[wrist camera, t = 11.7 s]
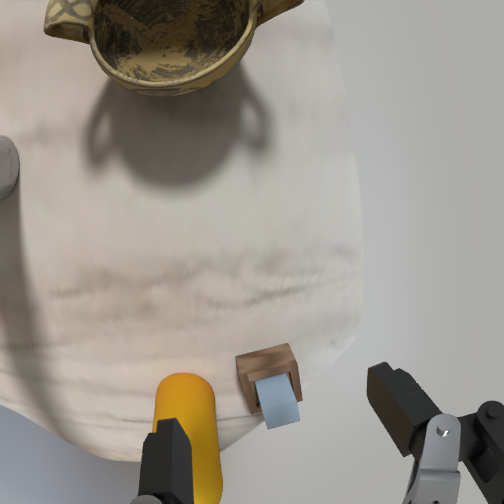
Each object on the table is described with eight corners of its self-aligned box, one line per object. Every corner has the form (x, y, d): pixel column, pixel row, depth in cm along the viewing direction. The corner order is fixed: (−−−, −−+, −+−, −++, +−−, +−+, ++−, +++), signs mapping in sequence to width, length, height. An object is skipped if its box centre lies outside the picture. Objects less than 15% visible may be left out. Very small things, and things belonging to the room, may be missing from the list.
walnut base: (246, 391, 46) (251, 414, 41) (235, 356, 43) (239, 378, 39) (294, 379, 47) (302, 400, 42) (288, 342, 44) (297, 363, 39)
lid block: (260, 400, 42) (267, 429, 36) (254, 379, 40) (261, 409, 35) (289, 392, 42) (299, 420, 36) (285, 371, 41) (296, 400, 35)
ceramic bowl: (266, -12, 28) (297, -77, 14) (274, 101, 33) (319, 71, 19) (95, 5, 25) (53, -49, 11) (91, 121, 30) (28, 106, 16)
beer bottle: (170, 414, 46) (169, 568, 18) (147, 377, 43) (127, 551, 15) (221, 404, 46) (245, 564, 19) (203, 365, 43) (217, 551, 16)
